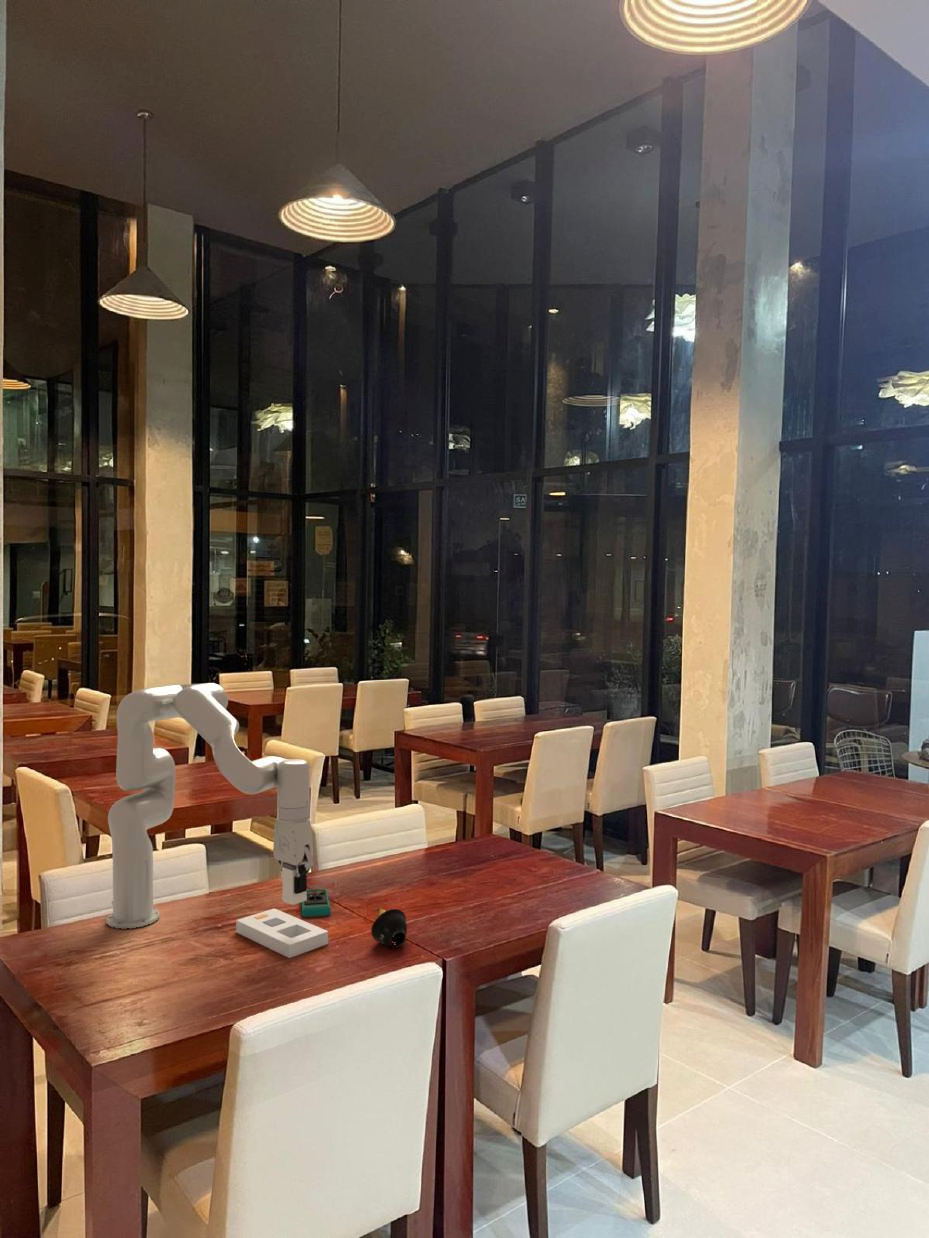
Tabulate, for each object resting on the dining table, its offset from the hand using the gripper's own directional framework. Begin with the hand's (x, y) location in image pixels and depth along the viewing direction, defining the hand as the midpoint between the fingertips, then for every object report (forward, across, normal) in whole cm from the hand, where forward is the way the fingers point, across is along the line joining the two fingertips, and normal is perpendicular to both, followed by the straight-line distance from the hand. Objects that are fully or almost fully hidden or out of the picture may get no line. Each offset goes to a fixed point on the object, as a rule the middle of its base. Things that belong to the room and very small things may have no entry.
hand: (294, 889), depth 200 cm
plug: (+3, 0, 0) cm, 3 cm away
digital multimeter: (+14, -17, +18) cm, 28 cm away
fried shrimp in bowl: (+13, +13, +18) cm, 26 cm away
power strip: (+13, -5, 0) cm, 14 cm away
